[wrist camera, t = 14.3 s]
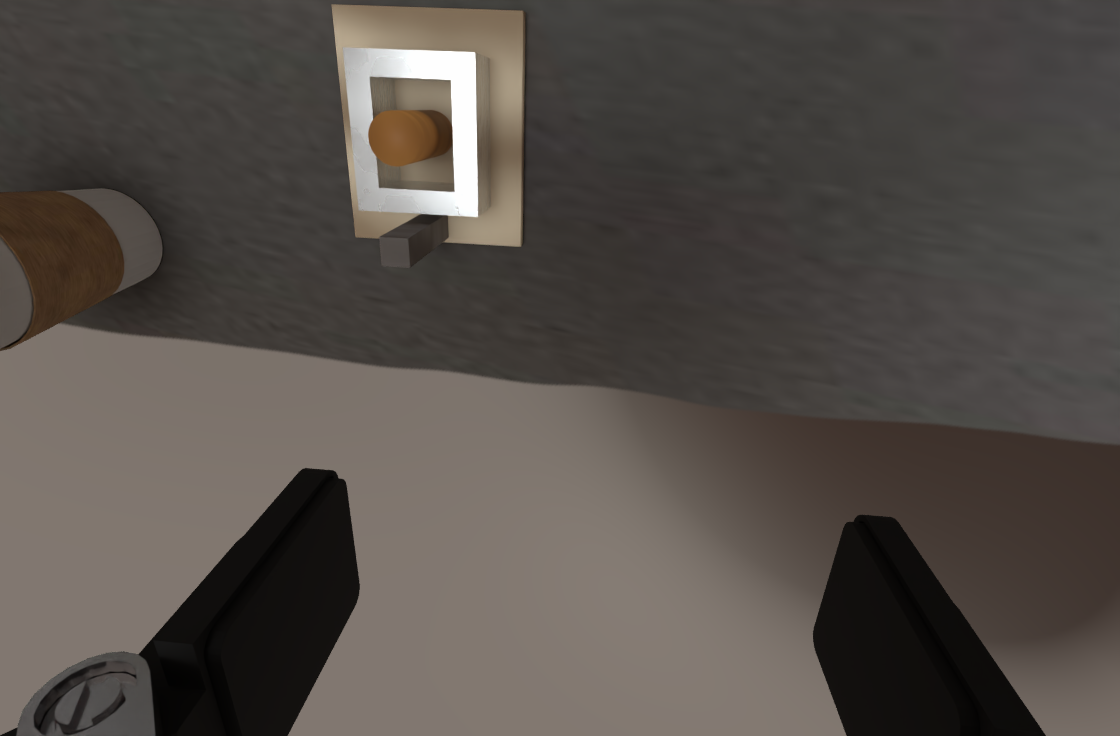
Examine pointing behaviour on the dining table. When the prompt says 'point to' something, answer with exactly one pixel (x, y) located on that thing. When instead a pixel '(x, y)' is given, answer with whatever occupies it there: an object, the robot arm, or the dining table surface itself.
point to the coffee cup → (68, 255)
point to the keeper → (439, 123)
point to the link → (470, 121)
